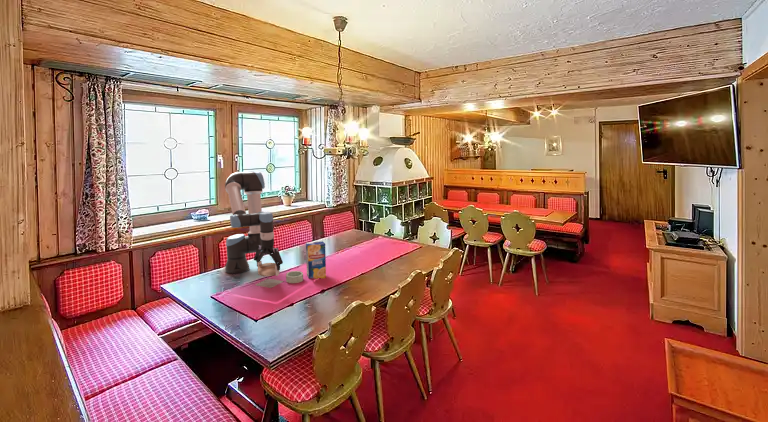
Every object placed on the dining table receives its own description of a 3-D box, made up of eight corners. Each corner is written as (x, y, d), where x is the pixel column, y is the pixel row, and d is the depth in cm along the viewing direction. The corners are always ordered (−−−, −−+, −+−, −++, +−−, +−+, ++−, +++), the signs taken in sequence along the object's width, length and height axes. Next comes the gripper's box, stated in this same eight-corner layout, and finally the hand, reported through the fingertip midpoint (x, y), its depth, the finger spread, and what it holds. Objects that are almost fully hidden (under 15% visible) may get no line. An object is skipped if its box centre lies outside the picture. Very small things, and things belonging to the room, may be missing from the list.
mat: (254, 286, 229) (254, 285, 229) (267, 280, 240) (267, 278, 240) (271, 289, 225) (271, 287, 224) (283, 282, 236) (283, 281, 235)
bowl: (283, 283, 234) (282, 275, 233) (291, 277, 243) (291, 270, 242) (298, 285, 231) (298, 277, 230) (305, 279, 241) (305, 272, 240)
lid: (253, 274, 228) (253, 267, 227) (266, 267, 239) (266, 261, 238) (270, 277, 224) (270, 270, 223) (283, 270, 235) (283, 264, 234)
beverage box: (306, 276, 247) (305, 242, 243) (323, 274, 251) (323, 241, 247) (308, 280, 240) (307, 245, 237) (326, 277, 244) (325, 244, 240)
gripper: (246, 237, 228) (248, 272, 233) (280, 242, 220) (281, 278, 224) (254, 234, 235) (256, 268, 240) (288, 239, 226) (289, 274, 231)
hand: (268, 273), depth 232 cm, fingers closed on lid, 12 cm apart
